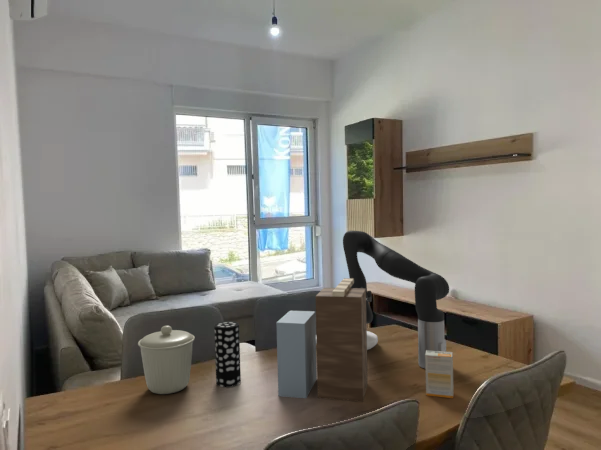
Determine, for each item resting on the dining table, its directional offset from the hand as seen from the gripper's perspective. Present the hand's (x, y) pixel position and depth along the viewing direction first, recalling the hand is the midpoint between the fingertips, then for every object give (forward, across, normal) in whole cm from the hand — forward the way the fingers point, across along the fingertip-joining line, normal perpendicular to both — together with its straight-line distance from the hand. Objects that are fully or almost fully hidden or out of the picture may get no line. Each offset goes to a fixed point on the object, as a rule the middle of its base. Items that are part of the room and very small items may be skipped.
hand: (349, 289), depth 163 cm
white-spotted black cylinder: (+2, -40, +35) cm, 53 cm away
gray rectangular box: (+2, -15, +35) cm, 38 cm away
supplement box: (-1, +30, +34) cm, 45 cm away
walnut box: (+2, 0, +35) cm, 35 cm away
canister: (+10, -57, +40) cm, 70 cm away
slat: (+14, 0, +5) cm, 14 cm away
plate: (-38, -6, +12) cm, 40 cm away
